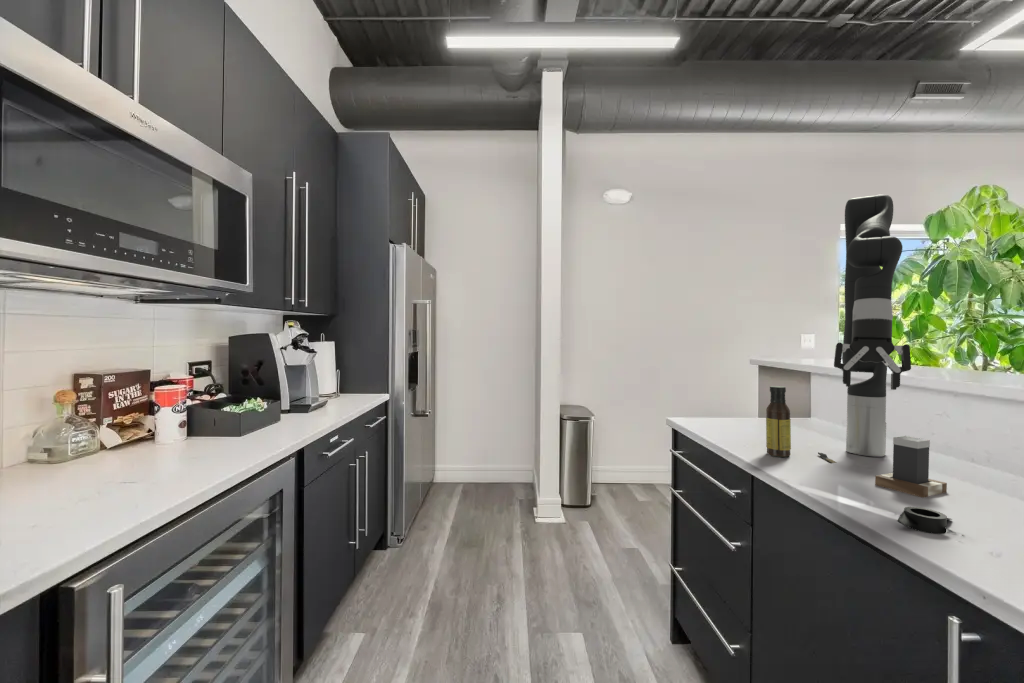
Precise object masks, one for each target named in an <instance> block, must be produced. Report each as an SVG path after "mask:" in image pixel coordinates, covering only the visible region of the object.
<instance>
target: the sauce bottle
mask: <svg viewBox="0 0 1024 683" xmlns="http://www.w3.org/2000/svg"><path fill="white" fill-rule="evenodd" d="M769 392H770V403H769V404H768V405H767V407H766V413H765V414H766V417H765V425H766V426H765V429H766V430H765V440H766V444H765V445H766V454H768V455H769V456H772V457H776V458H788V457H790V456H791V449H792V443H791V442H792V436H791V435H792V434H791V432H792V430H791V429H792V428H791V427H792V425H791V420H792V419H791V410H790V408H789V406H788V405H787V404H786V402H787V401H786V392H787V388H786V386H782V385H781V386H780V385H770V386H769Z"/></svg>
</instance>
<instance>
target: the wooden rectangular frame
mask: <svg viewBox="0 0 1024 683" xmlns="http://www.w3.org/2000/svg"><path fill="white" fill-rule="evenodd" d="M874 484H875V486H879V487H882V488H886V489H889V490H893V491H898V492H901V493H905V494H908V495H910V496H911V495H912V496H915V497H919V498H928V497H931V496H932V497H933V496H937V495H941V494H946V493H947V490H948V488H947V485H948V483H947V482H944V481H940V480H937V479H936V480H935V479H931V478H928V482H927V483H922V484H915V483H911V482H907V481H903V480H899V479H895V478H893V472H890V473H882V474H879V475H878V474H877V475H875V481H874Z"/></svg>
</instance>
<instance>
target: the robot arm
mask: <svg viewBox="0 0 1024 683" xmlns="http://www.w3.org/2000/svg"><path fill="white" fill-rule="evenodd" d="M893 217H894V201H893V198H892V197H891V196H890V195H888V194H875V195H868V196H858V197H853V198H850V199H848V200H847V201H846V204H845V208H844V230H845V231H844V232H845V234H844V235H845V251H846V252H845V270H844V272H845V273H844V329H843V342H837V343H836V345H835V350H834V351H835V352H834V358H833V359H834V360H833V367H834V368H836V369H840V370H841V371H842V384H843V385H845V387H847V391H846V392H847V398H846V399H847V400H846V412H847V413H846V434H845V436H846V438H845V440H846V442H845V450H846V452H847V453H850V454H854V455H860V456H863V457H864V456H866V457H885V456H886V455H885V454H886V452H887V450H886V449H887V448H886V447H887V445H886V444H887V420H886V419H887V418H886V417H887V414H886V413H887V375H888V369H889V370H890V372H891V374H890V390H893V391H895V390H897V388H899V387H900V386H901V374H902V373H905V372H908V371H911V369H912V363H911V362H912V361H911V360H912V359H911V347H910V344H907V343H906V344H903V345H895V344H894V343H893V319H894V315H893V305H892V287H893V279H894V274H895V271H896V268H897V266H898V264H899V261H900V258H901V256H902V253H903V243H902V240H900V238H898V237H896V236H891V232H890V229H891V225H892V223H893ZM894 351H896V353H897V354H898V355H899V356H900V359H901V366H898V365H897V363H896V362H895V361H894V360H893V358H892V357H891V356H890V355H891V354H892V353H893V352H894ZM852 373H871V374H872V376H871V377H870V378H868V379H866V380H864V381H860V382H855V383H851V380H852V379H851V377H852Z"/></svg>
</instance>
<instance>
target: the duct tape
mask: <svg viewBox="0 0 1024 683" xmlns="http://www.w3.org/2000/svg"><path fill="white" fill-rule="evenodd" d="M948 520H951V521H952V520H953V518H950V517H947V515H946V514H945V513H944V512H941V511H937V510H934V509H929V508H925V507H918V506H905V507H904V508H903V511H902V512H901V514H900V515H899V516H898V518H897V520H896V522H898V523H899V524H901V525H903V526H905V527H907V528H910V529H912V528H913V530H915V529H916V530H915V531H918V530H919V532H922V533H927V534H933V535H945V534H947V527H948V525H947V523H948Z"/></svg>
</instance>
